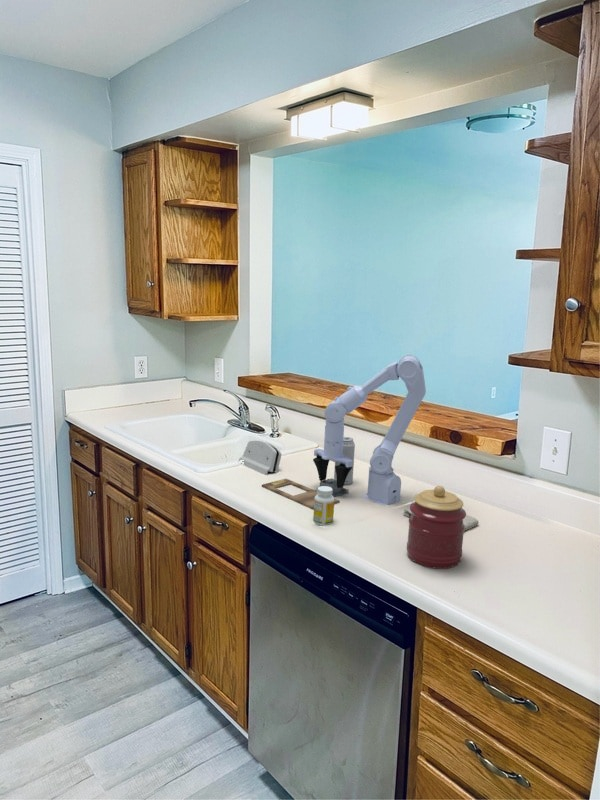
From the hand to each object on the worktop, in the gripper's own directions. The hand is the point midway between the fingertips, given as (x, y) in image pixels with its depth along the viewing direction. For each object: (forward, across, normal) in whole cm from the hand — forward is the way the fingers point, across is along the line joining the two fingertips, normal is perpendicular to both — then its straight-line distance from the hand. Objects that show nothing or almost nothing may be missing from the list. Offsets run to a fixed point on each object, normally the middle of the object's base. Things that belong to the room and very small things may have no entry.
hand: (331, 483), depth 178 cm
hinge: (+4, -33, -1) cm, 33 cm away
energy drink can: (+3, -4, +10) cm, 11 cm away
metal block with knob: (+2, 0, 0) cm, 3 cm away
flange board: (+3, -4, -9) cm, 11 cm away
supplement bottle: (+3, +15, -18) cm, 23 cm away
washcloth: (+4, +33, +10) cm, 35 cm away
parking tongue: (+3, 0, 0) cm, 3 cm away
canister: (+3, +45, -10) cm, 46 cm away
